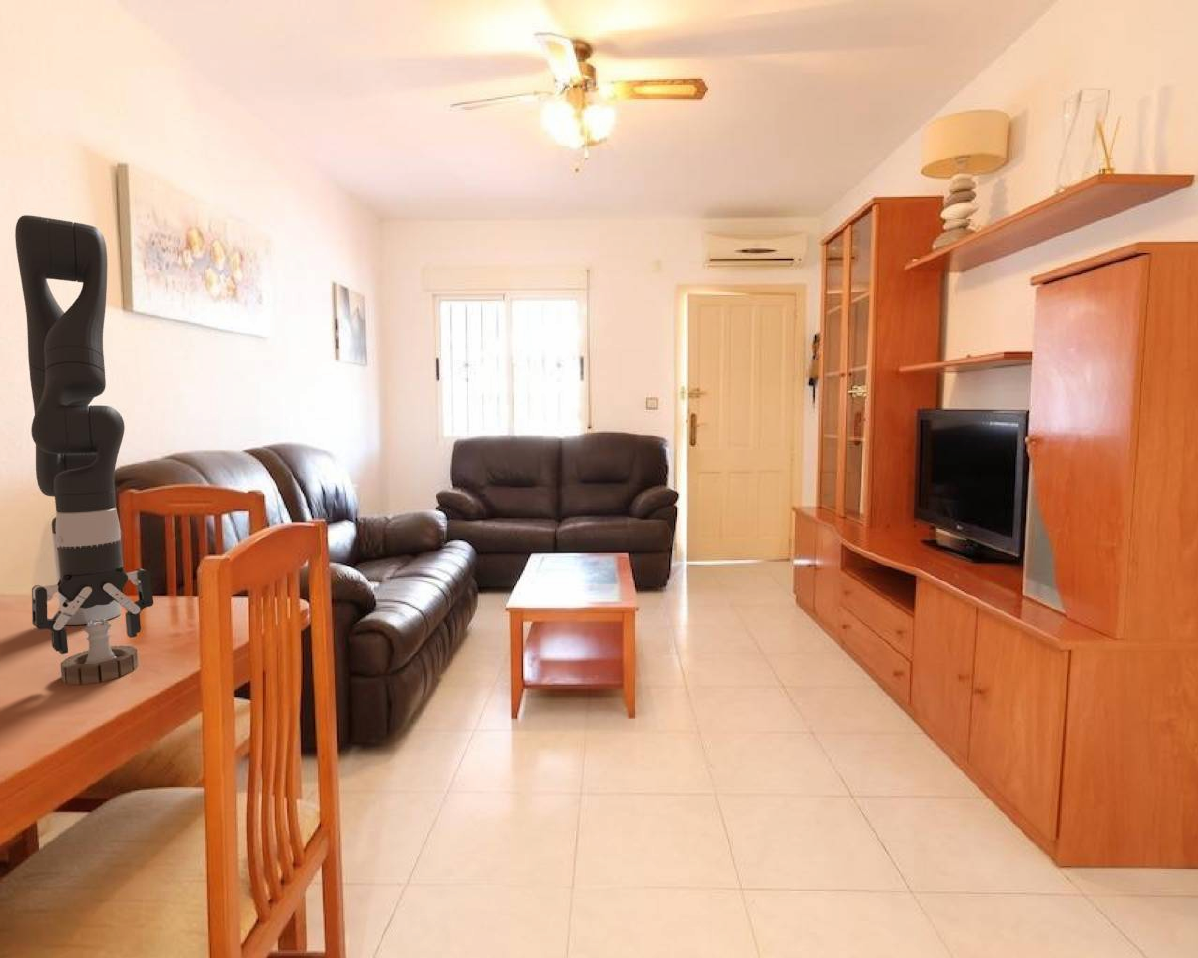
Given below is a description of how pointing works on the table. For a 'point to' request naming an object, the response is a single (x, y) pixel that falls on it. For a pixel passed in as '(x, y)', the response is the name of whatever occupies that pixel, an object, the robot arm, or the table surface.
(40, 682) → the table surface
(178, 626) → the table surface
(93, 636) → the rook chess piece
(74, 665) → the walnut ring bead
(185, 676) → the table surface
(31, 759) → the table surface
